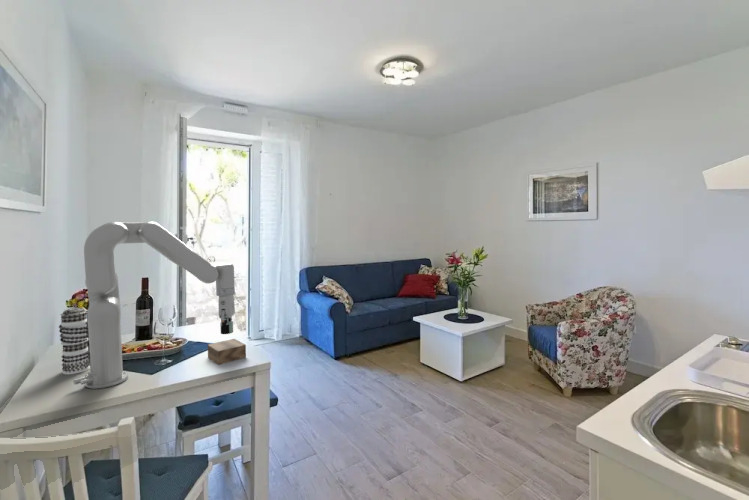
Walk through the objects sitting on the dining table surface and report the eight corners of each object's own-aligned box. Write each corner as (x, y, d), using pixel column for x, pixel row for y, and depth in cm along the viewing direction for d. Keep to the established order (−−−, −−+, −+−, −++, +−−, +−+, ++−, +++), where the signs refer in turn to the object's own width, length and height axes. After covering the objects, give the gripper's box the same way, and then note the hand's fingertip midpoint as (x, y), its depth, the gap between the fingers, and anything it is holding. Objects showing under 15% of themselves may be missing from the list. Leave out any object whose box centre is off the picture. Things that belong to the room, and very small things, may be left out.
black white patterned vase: (74, 365, 145) (71, 306, 143) (96, 365, 145) (94, 306, 144) (54, 374, 136) (51, 311, 134) (78, 374, 136) (75, 311, 134)
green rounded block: (225, 334, 151) (224, 324, 151) (218, 332, 154) (217, 322, 153) (235, 331, 155) (235, 322, 155) (228, 330, 158) (228, 320, 158)
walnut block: (218, 365, 147) (218, 351, 146) (208, 357, 155) (207, 344, 155) (245, 357, 155) (245, 344, 155) (234, 351, 163) (234, 338, 163)
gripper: (230, 294, 146) (231, 337, 147) (238, 287, 162) (239, 326, 163) (211, 295, 144) (212, 338, 145) (221, 288, 161) (222, 326, 162)
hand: (226, 331), depth 154 cm, fingers closed on green rounded block, 5 cm apart
